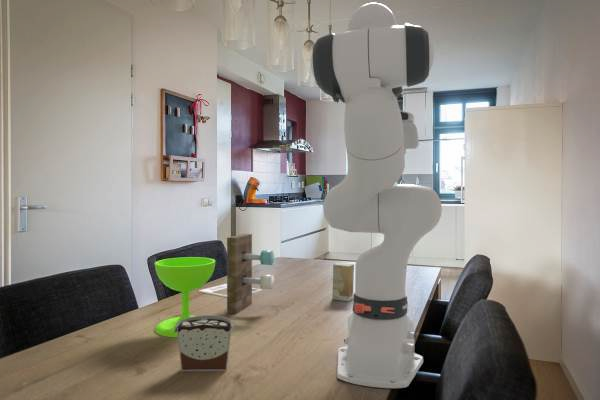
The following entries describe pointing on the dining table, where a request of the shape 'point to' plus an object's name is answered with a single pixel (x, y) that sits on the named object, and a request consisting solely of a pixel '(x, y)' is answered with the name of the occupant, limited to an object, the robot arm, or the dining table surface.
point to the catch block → (238, 273)
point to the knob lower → (261, 281)
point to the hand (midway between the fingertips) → (382, 165)
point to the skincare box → (343, 281)
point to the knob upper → (261, 257)
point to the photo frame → (220, 288)
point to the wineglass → (182, 284)
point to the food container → (204, 342)
